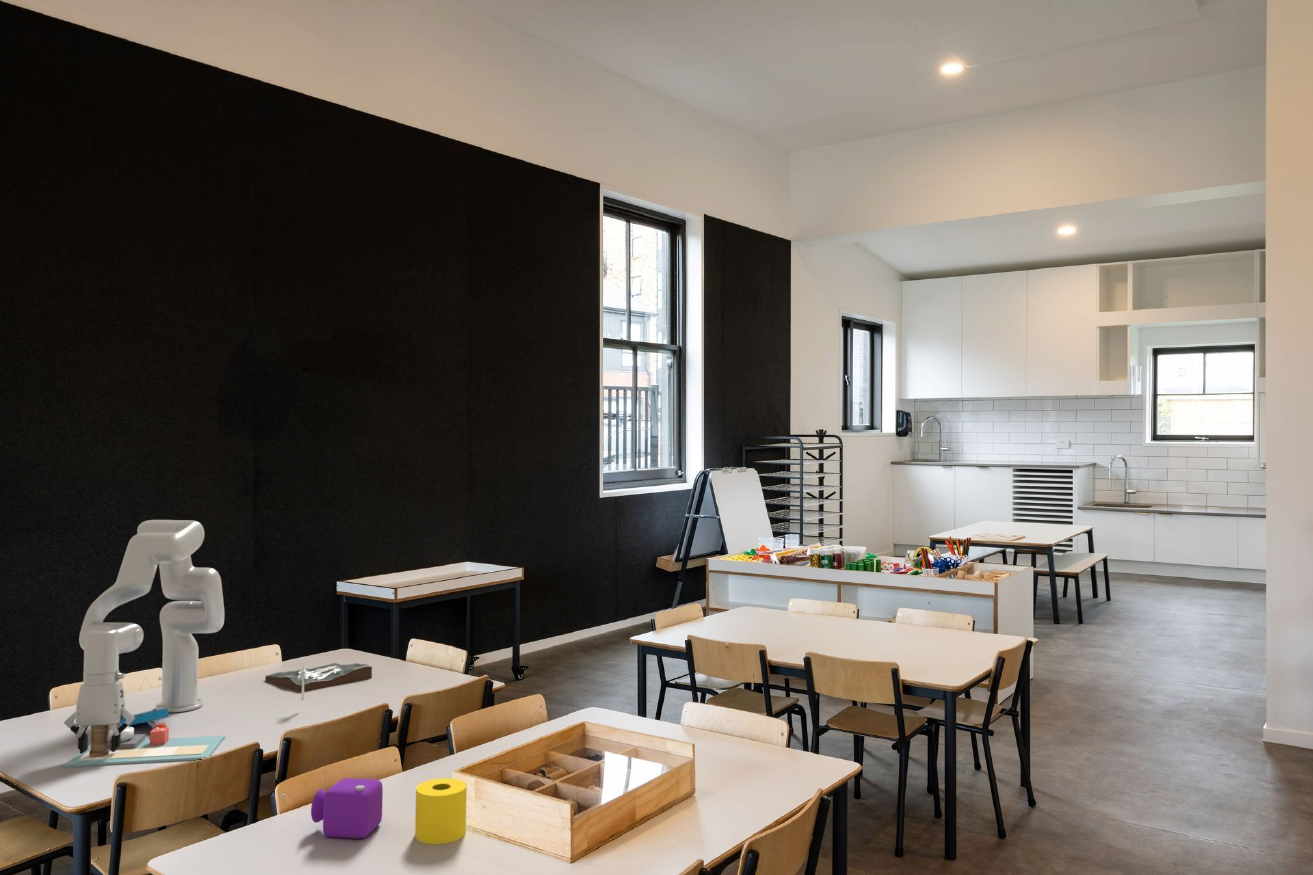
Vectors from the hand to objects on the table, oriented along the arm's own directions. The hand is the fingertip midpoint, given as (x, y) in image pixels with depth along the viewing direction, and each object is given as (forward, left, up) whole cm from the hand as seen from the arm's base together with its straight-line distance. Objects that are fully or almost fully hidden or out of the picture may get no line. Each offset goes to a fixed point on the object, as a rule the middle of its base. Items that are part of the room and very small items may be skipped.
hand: (99, 750), depth 233 cm
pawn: (0, 0, -1) cm, 1 cm away
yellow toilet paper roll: (+63, +84, -2) cm, 105 cm away
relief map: (-63, +44, -3) cm, 77 cm away
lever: (-24, +4, -2) cm, 24 cm away
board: (-3, +11, -2) cm, 11 cm away
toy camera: (+58, +65, -2) cm, 87 cm away
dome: (-8, +2, -1) cm, 8 cm away
